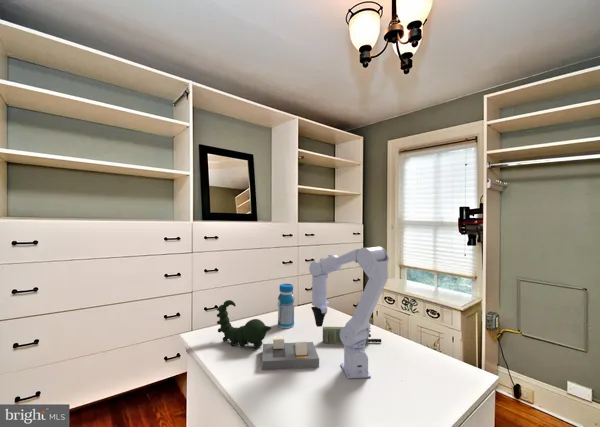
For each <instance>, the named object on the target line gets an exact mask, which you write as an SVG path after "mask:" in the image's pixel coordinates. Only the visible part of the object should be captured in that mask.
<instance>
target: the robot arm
mask: <svg viewBox="0 0 600 427" xmlns="http://www.w3.org/2000/svg"><path fill="white" fill-rule="evenodd" d="M389 260H390V257H389V256H388V253H387V251H386V249H385V248H383V247H382V246H372V247H361V248H357V249H356V248H355V249H353V250H350V251H349V252H346V253H344V254H342V255H339V256H338V255H336V254H333V253H331V254H328V257H325V258H324V257H323V258H320V259H319V260H318V261H316V260H313V261H311V263H309V267H308V270H309V273H310V275H311V277H312V278H311V280H312V282H311V285H312V286H311V287H312V288H311V290H312V291H311V305H312V306H311V310H312V314H313V316H314V321H315V326H316V327H323V325H324V324H323V323H324V319H325V318H326V315H327V314H328V306H327V305H330V302H329V301H327V290H328V289H327V288H328V287H327V284H328V280H327V279H328V276H329V273H333V272H336V271H339V270H340V269H342V266H343V265H346V264H350V263H353V262H354V263H355V264H357V263H358V265H359V266H360V268H361V269H362V271H363V272H364V273H365V275H366V276H367V277H368V280H367V282H366V285H365V287H364V290H363V292H362V294H361V296H360V299H359V301H358V303H357V306H356V308H355V310H354V313H353V315H352V317H351V318H350V319H348V321H347V322H346V323H345V325H344V326H342V327H343V328H342V329H341V330H340V339H341V341H342V343H341V344H342V345H343V347H344V348H343V362H341V363H340V366H341V368H342V370H343V372H344V374H345V375H346V378H347V379H359V378H360V379H362V378H363V379H364V378H371V377H372V375H371V374H370V372H369V358H368V355H367V352H366V344H365V343H366V339H367V338H368V339H369V338H370V337H369V334H370V332H369V330H370V329H369V328H371V323H370V319H371V317H372V315H373V312H374V310H375V308H376V306H377V304H378V301H379V300H380V297H381V295H382V294H383V293H382V292H383V290H384V287H385V286H386V283H387V281H388V263H389Z"/></svg>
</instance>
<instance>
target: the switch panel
mask: <svg viewBox="0 0 600 427" xmlns="http://www.w3.org/2000/svg"><path fill="white" fill-rule="evenodd" d="M305 342H306V343H307V355H297V356H296V353H295V342H284V348H283V349H273V343H262V358H261V359H262V362H261V363H262V366H261V370H262V371H271V370H272V371H273V370H274V371H275V370H290V369H291V370H292V369H293V370H294V369H306V368H307V369H309V368H320V357H319V355H318V352H317V348H316V347H315V344H314V341H305Z"/></svg>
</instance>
